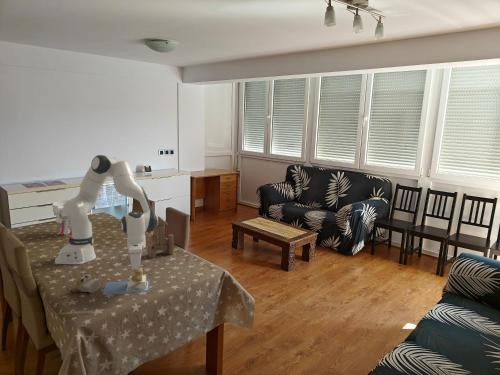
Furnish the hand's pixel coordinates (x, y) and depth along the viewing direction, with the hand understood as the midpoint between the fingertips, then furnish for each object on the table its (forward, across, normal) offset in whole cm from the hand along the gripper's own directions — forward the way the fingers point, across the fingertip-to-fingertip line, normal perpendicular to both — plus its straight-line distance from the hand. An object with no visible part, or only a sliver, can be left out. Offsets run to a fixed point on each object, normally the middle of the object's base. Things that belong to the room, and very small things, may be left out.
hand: (137, 269), depth 181 cm
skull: (+10, -95, -55) cm, 110 cm away
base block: (+9, 0, 0) cm, 9 cm away
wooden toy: (+10, -45, +11) cm, 47 cm away
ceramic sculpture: (+10, 0, -25) cm, 27 cm away
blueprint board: (+10, 0, -5) cm, 11 cm away
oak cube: (+5, 0, 0) cm, 5 cm away
